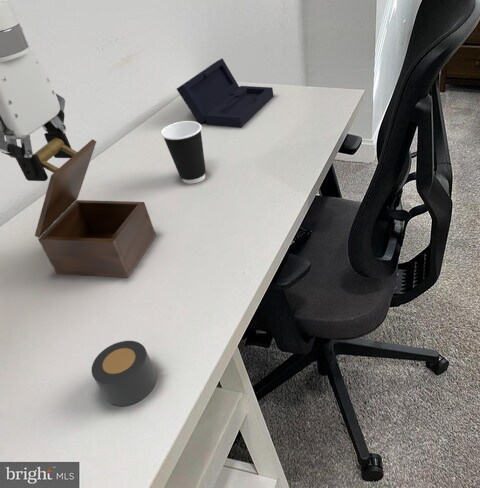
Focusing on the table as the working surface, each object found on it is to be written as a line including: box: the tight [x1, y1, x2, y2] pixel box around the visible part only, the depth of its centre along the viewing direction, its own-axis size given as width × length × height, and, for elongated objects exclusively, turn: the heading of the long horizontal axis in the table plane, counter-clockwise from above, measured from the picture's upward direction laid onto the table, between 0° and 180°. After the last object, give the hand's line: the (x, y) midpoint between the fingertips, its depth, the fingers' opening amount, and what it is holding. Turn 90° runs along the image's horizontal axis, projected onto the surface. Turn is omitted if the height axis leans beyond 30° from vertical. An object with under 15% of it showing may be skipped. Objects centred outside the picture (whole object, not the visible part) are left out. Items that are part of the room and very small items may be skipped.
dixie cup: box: [160, 120, 207, 185], centre depth 98 cm, size 8×8×11 cm
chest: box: [38, 199, 157, 279], centre depth 80 cm, size 13×11×7 cm
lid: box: [33, 138, 97, 239], centre depth 74 cm, size 13×11×5 cm
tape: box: [91, 340, 158, 407], centre depth 59 cm, size 6×6×5 cm
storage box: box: [176, 57, 274, 128], centre depth 127 cm, size 21×16×10 cm
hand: (51, 167), depth 72 cm, fingers closed on lid, 6 cm apart
